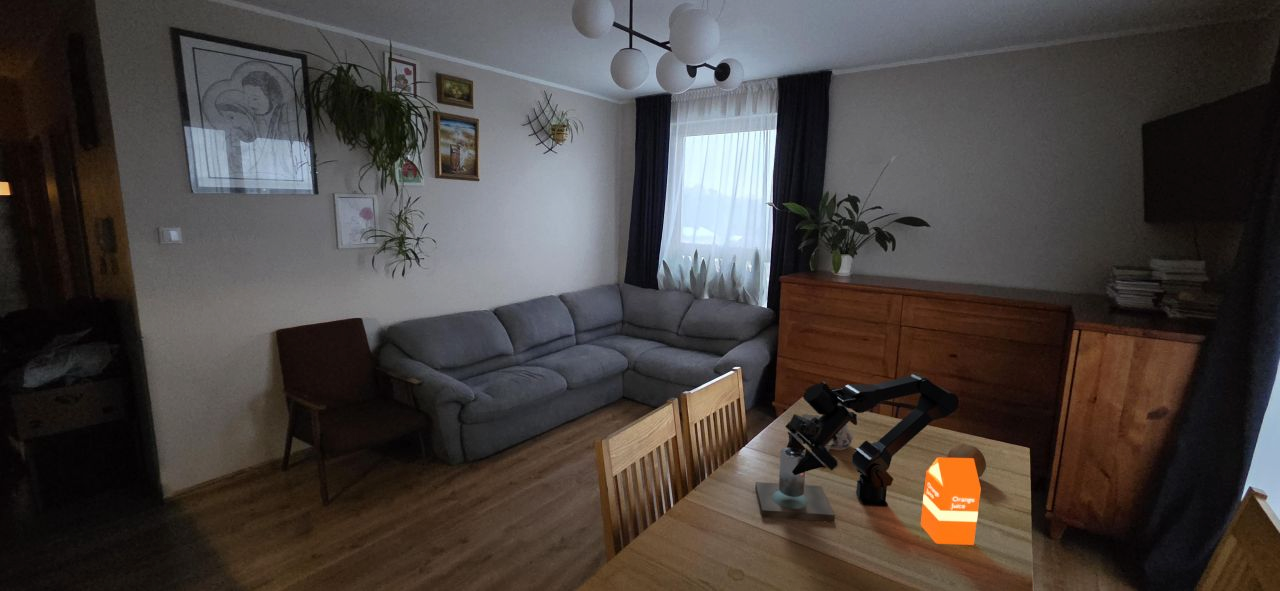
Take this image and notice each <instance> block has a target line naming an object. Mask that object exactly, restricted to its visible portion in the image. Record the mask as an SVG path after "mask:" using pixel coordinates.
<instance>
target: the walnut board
mask: <svg viewBox="0 0 1280 591" xmlns="http://www.w3.org/2000/svg"><path fill="white" fill-rule="evenodd" d="M754 489H755V493H756V497H757V501H758V502H757V503H758V505H759V510H760V514H761V518H766V519H767V518H768V519H779V518H781V519H782V520H783V519H784V520H794V519H801V520H800V521H809V520H817V521H816V522H824V521H826V522H827V523H835V520H836V514H835V512H834V510H833V507H832V506H831V503H830V501H829V500H828V497H827V495H826V493H825V491H824V489H823V487H822V485H814V484H812V485H810V484H804V494H803V495H802V496H799V497H791V496H787V495H784V494H783V493H781V492H780V491H779V482H778V483H777V482H775V483H774V482H761V481H755V488H754ZM826 522H825V523H826Z"/></svg>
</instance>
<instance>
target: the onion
mask: <svg viewBox="0 0 1280 591" xmlns="http://www.w3.org/2000/svg"><path fill="white" fill-rule="evenodd" d="M946 458H974V462H975V466H976V471H977V475H978V479H980V478H981V477H982V476H983V475H984V473H985V471H986V468H987V461H986V458H985V456H984V454H983V453H982V452H981V450H980V449H979V448H977V447H976V446H974V445H970V444H966V443H965V444H964V443H963V444H957V445H955V446H953V447H951V449H950V450H949V451H948V453H947V457H946Z"/></svg>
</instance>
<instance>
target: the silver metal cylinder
mask: <svg viewBox="0 0 1280 591" xmlns="http://www.w3.org/2000/svg"><path fill="white" fill-rule="evenodd" d="M804 457H805V450H803V451H802V450H800V449H797V448H786V447H785V448H782V449H781V450H780V457H779V458H780V459H779V477H778V483H779V491H780V492H781V493H783V494H784V495H787V496H791V497H799V496H802V495H803V494H804V485H805V482H806V481H805V479H806V472H803V473H800V474H797V475H794V474H793V473H792V471H793V470H794V469H795V467H796V466H797V465H798V464H799V462H800V461H801V460H802V459H803V458H804Z"/></svg>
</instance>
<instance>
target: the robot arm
mask: <svg viewBox="0 0 1280 591" xmlns="http://www.w3.org/2000/svg"><path fill="white" fill-rule="evenodd" d="M914 394H919V397H918V400H917V404H916V407H915V408H914V409H913V410H912V411H910V412H909V413H908V414H907V415H906V416H905V417H903V419H902V420H900V421H899V422H898V423H897V424H895V425H894V427H892V428H891V429H890V430H889V431H888V432H887V433H886V434H885V435H884V436H882V437H881V438H880V439H878V440H877V441H875V442H873V443H872V442H870V441H868V439H867V440H864V441H863V442H862V443H861V444H860V446H858V447H855V448H854V450H855V451H854V452H853V454H852V456H851V458H852V459H851V460H852V465H853V467H855V469H856V472H858V473H859V479H858V480H857V481H856V491H855V494H856V496H857V498H858V499H859V500H860V502H861V503H862V505H863V506H875V507H888V506H889V504H888V502H887V501H886V499H887V490H888V487H891V485H892V483H893V481H894V478H893V476H892V475H890V474H889V472H888V471H887V470H889V468H890V466H891V462H892V458H893V457H894V456H895V455H896V454H897V453H898V452H899V451H900V450H901V449H902V448H904V447H905V446H906V445H907V444H908V443H909V442H910V441H911V440H912V439H914V438H915V437H916V436H917V435H918V434H919V433H921V432H922V430H924V429H925V428H926V427H928V426H929V424H930V423H932V422H933V421H938V420H942V419H946V417H947V418H948V417H949V416H950V415H952V414H953V413H954V412H956V411H957V410H958V409H959V407H960V406H959V402H960V401H959V397H958V395H957V394H956V393H953V392H951V391H949V390H947V389H946V388H943V387H940V386H938V385H936V384H935V383H933V382H932V381H931V380H930V379H929V378H926V377H925V376H923V375H920V374H918V373H912V374H910V375H909V376H905V377H900V378H897V379H896V378H895V379H892V380H891V379H890V380H888V381H882V382H879V383H878V382H877V383H875V384H862V383H856V384H855V383H854V384H850V383H849V384H846V385H844V386H843V387H842V388H837V389H831V388H830V386H829V385H828V384H827V383H826V382H824V381H820V382H819V383H817V384H816V383H815V384H813V385H811V386H808V387H807V388H806V389H805V391H804V393H803V396H802V397H803V400H804V401H805V403H807V404H808V405H809V406H810V407H811V408H812V409H813V410H814V411H815V412H816V413H817V415H821V416H820V418H819V419H817V418H816V417H815V418H813V419H812V420H808V419H806V418H804V417H801V416H802V415H799V414H797V413H794V414H793V415H792V417H791V419H790V420H789V422H788V423H787V424H786V425H785V428H786V429H787V430H788V431H787V434H788V442H787V445H786V447H785V448H797V449H800V450H802V451H804V452H805V457H804V458H803V459H802V460H801V461H800V462H799V464H798V465H797V466H796V467H795V469H794V470H793V471H792V473H793V474H794V475H797V474H800V473H803V472H805V473H807V472H809V471H814V470H816V469H821V468H823V469H825V468H826V467H828V469H829V470H830V471H834V469H835V468H836V467H838V460H837V459H836V458H835V457H834V456H833V455H832V454H831V453H830V452H829V451H827V449H826V448H825V446H826V445H827V444H828V443H829V442H830V441H831V440H832V439H834V440H835V441H836V440H837V439H838V438H837V437H836V436H835V435H836V434H837V433H838V432H839V431H840V430H841V429H842V428H843V427H844V426H845V425H846V424H847V425H848V423H849V422H850V423H851V424H853V425H854V426H857V425H858V418H857V417H858V414H862V413H865V412H868V411H870V410H873V409H874V408H876V407H877V405H878V404H880V403H882V402H883V403H884V402H887V401H890V400H891V401H892V400H894V399H899V398H903V397H907V396H912V395H914ZM838 403H840V404H842V405H843V406H839V405H838ZM844 406H845V407H846V408H848V410H847V409H846V408H845V407H844ZM850 409H851V410H852V411H849V410H850ZM853 411H854V412H853ZM857 413H858V414H857ZM809 440H810V441H809ZM804 444H805V445H807V447H808V448H809V447H810V448H811V449H812V450H811V451H810V450H809V449H810V448H809V449H808V448H806V447H805V446H804ZM813 444H815V445H814V446H813Z"/></svg>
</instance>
